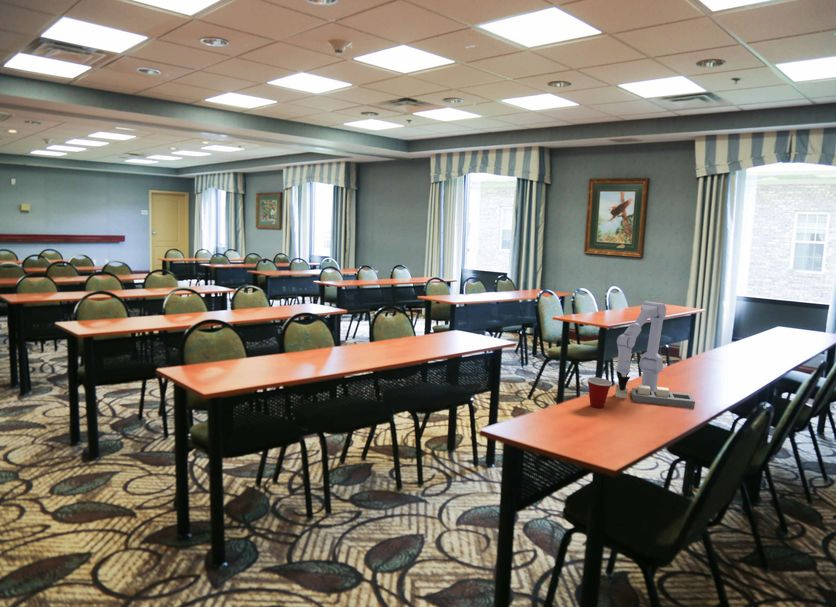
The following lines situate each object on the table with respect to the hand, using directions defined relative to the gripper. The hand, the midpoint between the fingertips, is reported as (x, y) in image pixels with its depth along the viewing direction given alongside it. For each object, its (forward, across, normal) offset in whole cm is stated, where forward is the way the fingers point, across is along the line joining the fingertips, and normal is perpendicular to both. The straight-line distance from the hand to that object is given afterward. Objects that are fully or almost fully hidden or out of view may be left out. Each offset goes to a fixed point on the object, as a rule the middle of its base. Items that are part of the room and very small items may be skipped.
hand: (621, 388), depth 285 cm
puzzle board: (+4, 0, +18) cm, 18 cm away
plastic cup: (+4, +21, -11) cm, 24 cm away
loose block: (+4, 0, 0) cm, 4 cm away
